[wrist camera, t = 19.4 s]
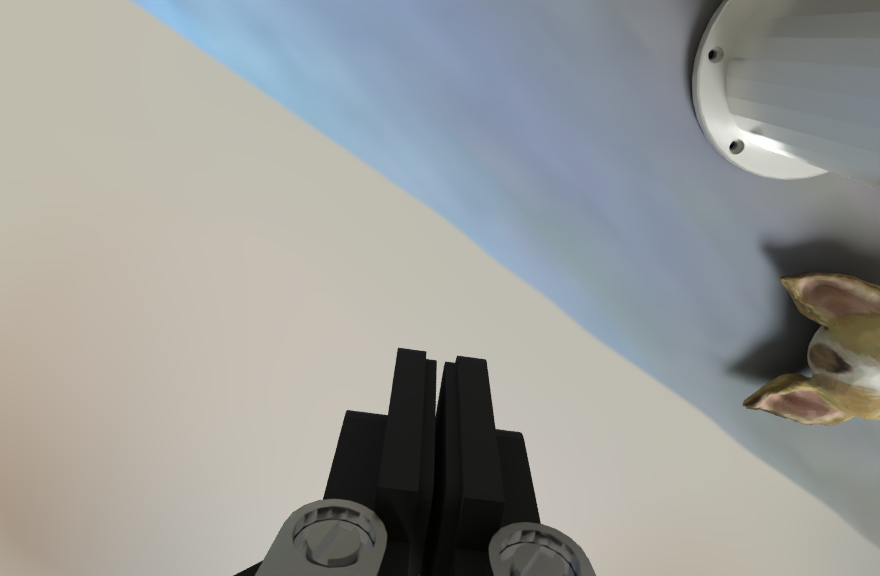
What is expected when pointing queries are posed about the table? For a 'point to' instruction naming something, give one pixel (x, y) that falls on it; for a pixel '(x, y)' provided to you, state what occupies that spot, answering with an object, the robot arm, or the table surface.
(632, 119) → the table surface
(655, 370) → the table surface
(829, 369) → the ceramic sculpture
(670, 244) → the table surface
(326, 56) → the table surface
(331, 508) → the robot arm
